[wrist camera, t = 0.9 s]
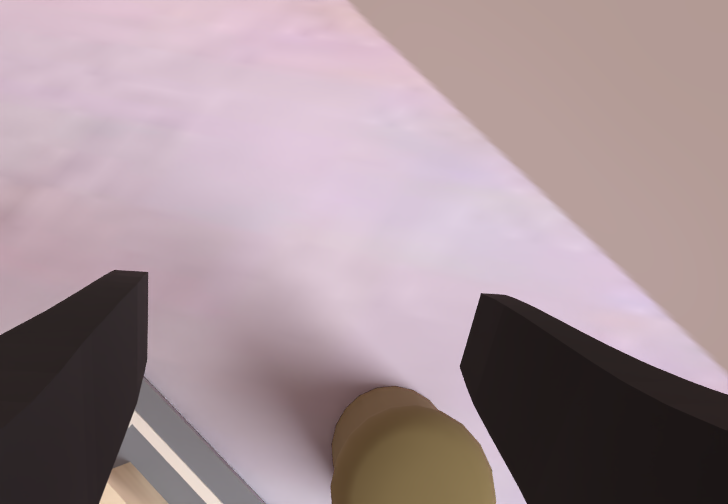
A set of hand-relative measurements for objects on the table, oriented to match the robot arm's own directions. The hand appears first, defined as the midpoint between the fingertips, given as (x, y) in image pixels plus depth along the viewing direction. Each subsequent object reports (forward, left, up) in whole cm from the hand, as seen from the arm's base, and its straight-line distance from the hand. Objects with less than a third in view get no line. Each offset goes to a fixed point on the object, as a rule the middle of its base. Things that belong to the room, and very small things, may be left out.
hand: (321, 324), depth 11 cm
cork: (-5, +2, -16) cm, 17 cm away
